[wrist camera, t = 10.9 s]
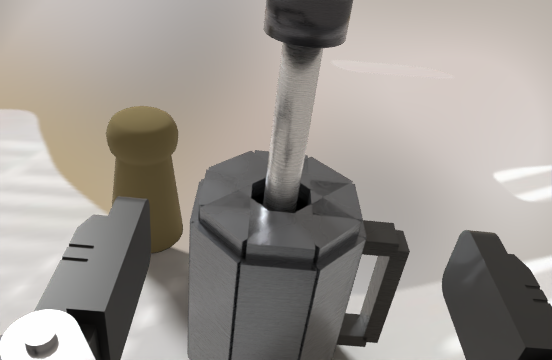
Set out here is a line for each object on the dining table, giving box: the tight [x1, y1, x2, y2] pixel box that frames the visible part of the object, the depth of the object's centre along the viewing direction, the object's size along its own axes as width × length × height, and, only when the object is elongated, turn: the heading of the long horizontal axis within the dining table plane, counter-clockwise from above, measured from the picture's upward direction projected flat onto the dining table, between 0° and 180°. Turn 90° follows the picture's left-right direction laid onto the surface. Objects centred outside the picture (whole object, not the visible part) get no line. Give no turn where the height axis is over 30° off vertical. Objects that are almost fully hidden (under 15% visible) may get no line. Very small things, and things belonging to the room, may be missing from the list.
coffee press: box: [188, 150, 410, 360], centre depth 30 cm, size 12×9×13 cm
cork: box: [106, 106, 183, 253], centre depth 39 cm, size 6×6×11 cm
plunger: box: [263, 0, 353, 213], centre depth 27 cm, size 6×6×21 cm
